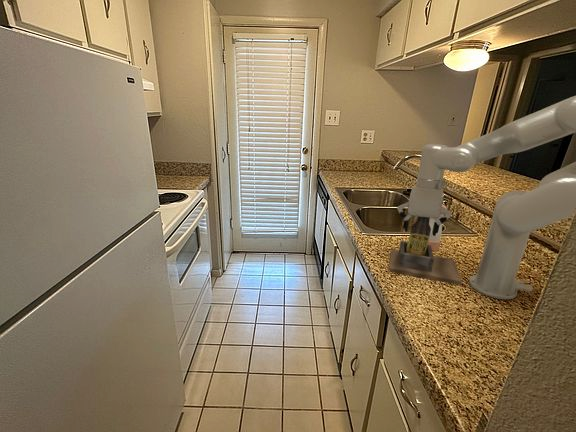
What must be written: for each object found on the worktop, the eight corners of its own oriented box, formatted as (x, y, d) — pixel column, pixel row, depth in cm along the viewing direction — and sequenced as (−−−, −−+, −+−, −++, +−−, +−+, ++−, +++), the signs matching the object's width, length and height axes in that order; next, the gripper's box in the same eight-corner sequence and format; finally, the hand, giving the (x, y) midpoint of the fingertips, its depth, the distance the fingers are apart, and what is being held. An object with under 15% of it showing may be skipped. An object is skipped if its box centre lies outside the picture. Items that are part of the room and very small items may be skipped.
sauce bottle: (404, 264, 103) (413, 210, 96) (404, 256, 108) (413, 205, 101) (424, 267, 101) (435, 213, 94) (423, 259, 106) (434, 208, 99)
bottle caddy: (452, 262, 108) (456, 246, 105) (460, 285, 93) (465, 267, 91) (390, 252, 115) (393, 237, 112) (389, 271, 100) (391, 255, 98)
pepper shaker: (429, 251, 116) (438, 205, 110) (416, 243, 123) (424, 200, 116) (443, 249, 118) (453, 204, 112) (429, 241, 125) (438, 199, 118)
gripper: (456, 183, 95) (445, 232, 101) (400, 178, 101) (393, 225, 107) (461, 188, 88) (449, 240, 94) (400, 183, 94) (392, 232, 100)
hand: (419, 232), depth 100 cm, fingers open, 8 cm apart
